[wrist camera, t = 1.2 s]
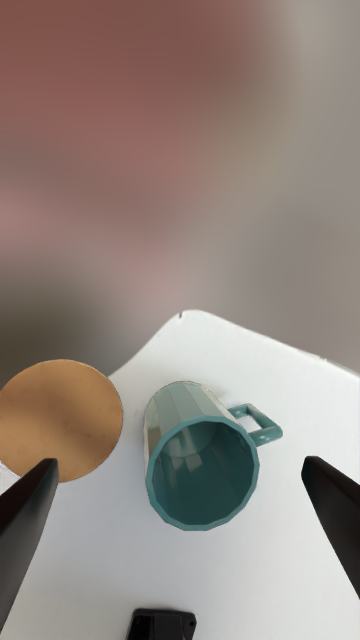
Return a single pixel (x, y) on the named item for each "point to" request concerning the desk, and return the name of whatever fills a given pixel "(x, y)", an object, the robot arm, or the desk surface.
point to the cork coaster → (59, 418)
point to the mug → (200, 456)
